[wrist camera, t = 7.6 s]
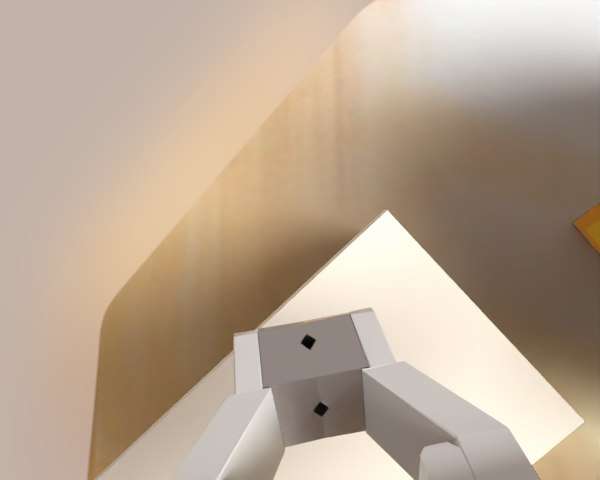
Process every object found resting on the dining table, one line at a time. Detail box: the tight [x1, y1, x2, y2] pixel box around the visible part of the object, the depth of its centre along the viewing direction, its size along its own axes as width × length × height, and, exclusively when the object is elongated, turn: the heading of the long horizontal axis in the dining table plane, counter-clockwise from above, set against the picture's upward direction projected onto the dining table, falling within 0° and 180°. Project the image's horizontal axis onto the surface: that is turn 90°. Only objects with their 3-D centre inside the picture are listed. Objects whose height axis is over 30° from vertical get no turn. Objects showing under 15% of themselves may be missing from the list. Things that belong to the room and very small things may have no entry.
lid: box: [94, 210, 585, 480], centre depth 23 cm, size 22×14×1 cm, turn 131°
